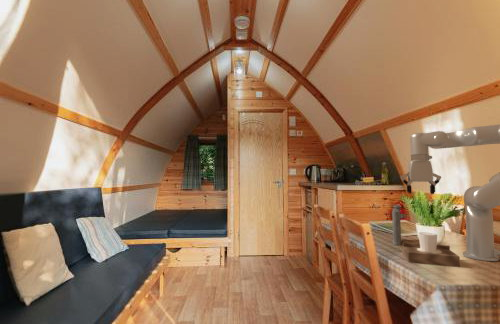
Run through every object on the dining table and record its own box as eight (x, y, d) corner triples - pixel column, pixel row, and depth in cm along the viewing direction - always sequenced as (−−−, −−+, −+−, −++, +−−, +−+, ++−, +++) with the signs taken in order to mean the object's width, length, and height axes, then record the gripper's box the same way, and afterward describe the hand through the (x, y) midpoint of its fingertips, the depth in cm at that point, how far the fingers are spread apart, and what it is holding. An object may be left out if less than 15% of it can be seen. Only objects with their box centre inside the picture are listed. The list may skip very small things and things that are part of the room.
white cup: (441, 252, 115) (440, 235, 115) (422, 251, 116) (422, 235, 116) (433, 248, 121) (432, 232, 122) (416, 247, 123) (415, 231, 123)
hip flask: (393, 238, 160) (392, 204, 161) (401, 239, 158) (400, 204, 159) (392, 244, 146) (392, 206, 147) (401, 245, 144) (400, 207, 145)
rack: (449, 258, 121) (448, 245, 121) (459, 266, 110) (459, 252, 110) (402, 254, 127) (402, 242, 127) (408, 262, 116) (408, 248, 116)
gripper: (437, 158, 136) (438, 193, 135) (398, 159, 141) (399, 193, 140) (443, 157, 129) (444, 194, 128) (401, 158, 134) (403, 193, 133)
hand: (420, 193), depth 134 cm, fingers open, 9 cm apart
